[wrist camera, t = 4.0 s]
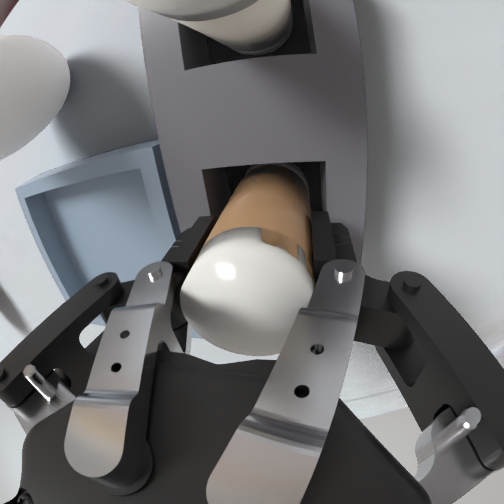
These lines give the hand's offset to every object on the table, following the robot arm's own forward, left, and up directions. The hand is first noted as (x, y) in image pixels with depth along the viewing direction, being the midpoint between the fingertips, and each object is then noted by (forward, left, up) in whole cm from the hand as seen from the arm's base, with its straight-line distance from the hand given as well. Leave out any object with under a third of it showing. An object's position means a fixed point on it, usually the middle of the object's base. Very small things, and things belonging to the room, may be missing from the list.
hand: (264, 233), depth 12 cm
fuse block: (-5, 0, -5) cm, 7 cm away
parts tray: (+3, -12, -5) cm, 14 cm away
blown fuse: (0, 0, -5) cm, 5 cm away
